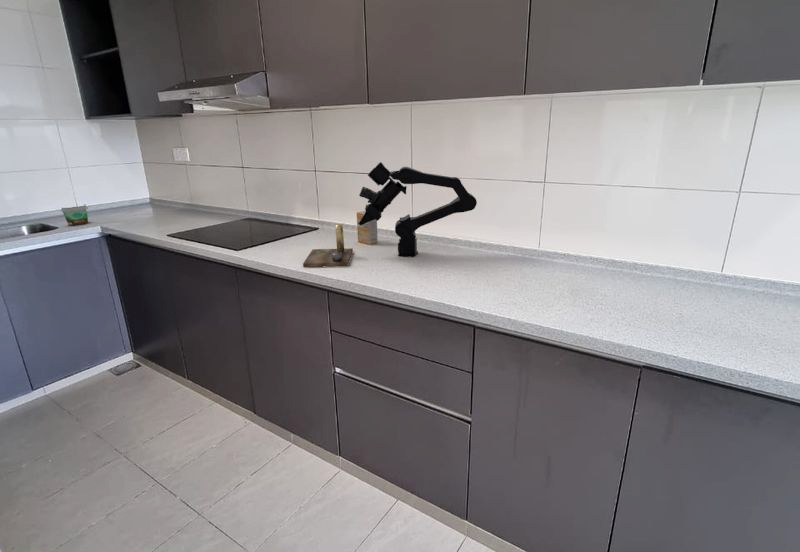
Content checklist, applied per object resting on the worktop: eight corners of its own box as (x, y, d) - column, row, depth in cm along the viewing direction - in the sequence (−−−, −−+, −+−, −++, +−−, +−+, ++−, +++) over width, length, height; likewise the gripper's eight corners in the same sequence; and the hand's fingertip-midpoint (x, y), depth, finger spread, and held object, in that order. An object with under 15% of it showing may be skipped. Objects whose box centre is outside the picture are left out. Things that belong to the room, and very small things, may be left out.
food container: (70, 227, 233) (65, 208, 230) (65, 226, 236) (60, 207, 233) (95, 222, 243) (91, 204, 240) (90, 221, 246) (85, 204, 243)
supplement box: (357, 242, 189) (355, 212, 185) (365, 240, 193) (364, 210, 188) (369, 245, 184) (368, 214, 180) (378, 243, 187) (377, 212, 183)
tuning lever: (346, 248, 173) (344, 222, 169) (341, 261, 157) (339, 232, 153) (337, 248, 173) (335, 222, 169) (331, 261, 157) (329, 232, 153)
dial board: (352, 252, 175) (352, 247, 174) (347, 266, 157) (347, 262, 156) (312, 252, 175) (312, 248, 174) (303, 267, 157) (302, 263, 156)
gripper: (372, 176, 169) (346, 205, 172) (370, 182, 151) (340, 214, 155) (393, 196, 171) (367, 224, 175) (393, 204, 154) (363, 235, 157)
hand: (359, 224), depth 166 cm, fingers closed
